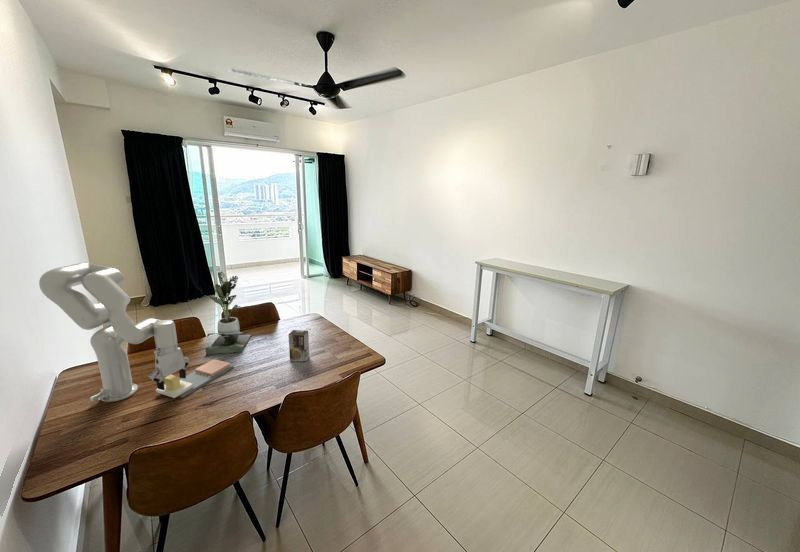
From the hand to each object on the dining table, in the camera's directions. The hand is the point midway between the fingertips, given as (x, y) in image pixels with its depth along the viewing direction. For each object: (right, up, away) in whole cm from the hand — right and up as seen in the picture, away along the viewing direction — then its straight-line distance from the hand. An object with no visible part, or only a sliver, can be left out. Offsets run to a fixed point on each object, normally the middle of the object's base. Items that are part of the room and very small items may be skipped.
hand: (172, 383), depth 141 cm
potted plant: (0, +6, +49) cm, 49 cm away
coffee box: (+46, +1, +36) cm, 58 cm away
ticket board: (+4, -2, +13) cm, 14 cm away
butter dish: (0, -3, +2) cm, 4 cm away
